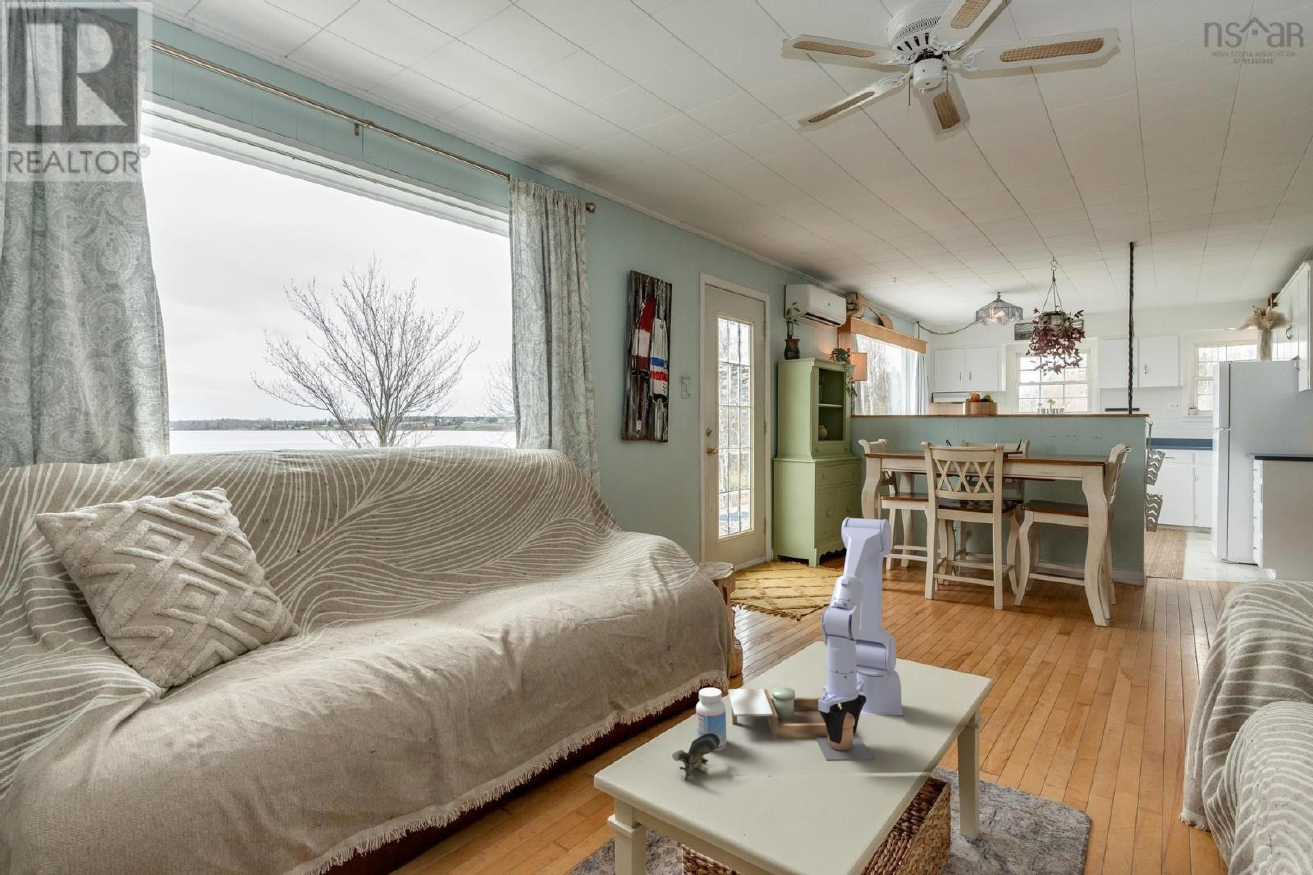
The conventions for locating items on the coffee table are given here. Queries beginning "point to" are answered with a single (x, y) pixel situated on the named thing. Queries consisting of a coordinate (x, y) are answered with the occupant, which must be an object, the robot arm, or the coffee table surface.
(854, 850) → the coffee table surface
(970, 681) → the coffee table surface
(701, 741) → the squirrel figurine
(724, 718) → the pill bottle
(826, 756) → the slate tile
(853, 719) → the peach rounded knob
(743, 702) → the cold frame
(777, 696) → the mint green knob
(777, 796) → the coffee table surface
